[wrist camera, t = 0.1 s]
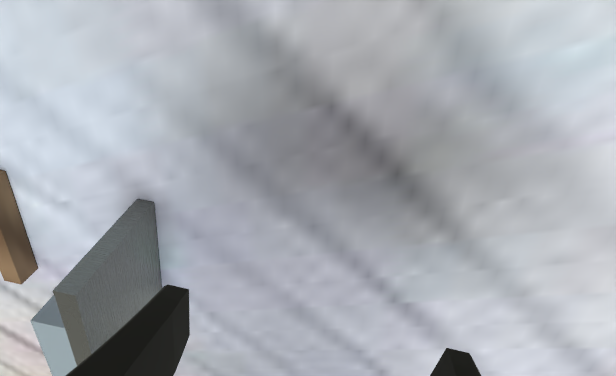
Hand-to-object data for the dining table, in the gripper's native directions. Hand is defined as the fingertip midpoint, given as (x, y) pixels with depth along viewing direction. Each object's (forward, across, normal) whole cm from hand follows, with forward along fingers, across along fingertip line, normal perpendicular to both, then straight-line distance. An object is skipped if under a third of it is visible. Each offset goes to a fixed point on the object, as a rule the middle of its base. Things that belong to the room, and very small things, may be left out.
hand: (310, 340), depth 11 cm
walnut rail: (+10, +19, +9) cm, 24 cm away
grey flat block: (+10, +10, +9) cm, 17 cm away
